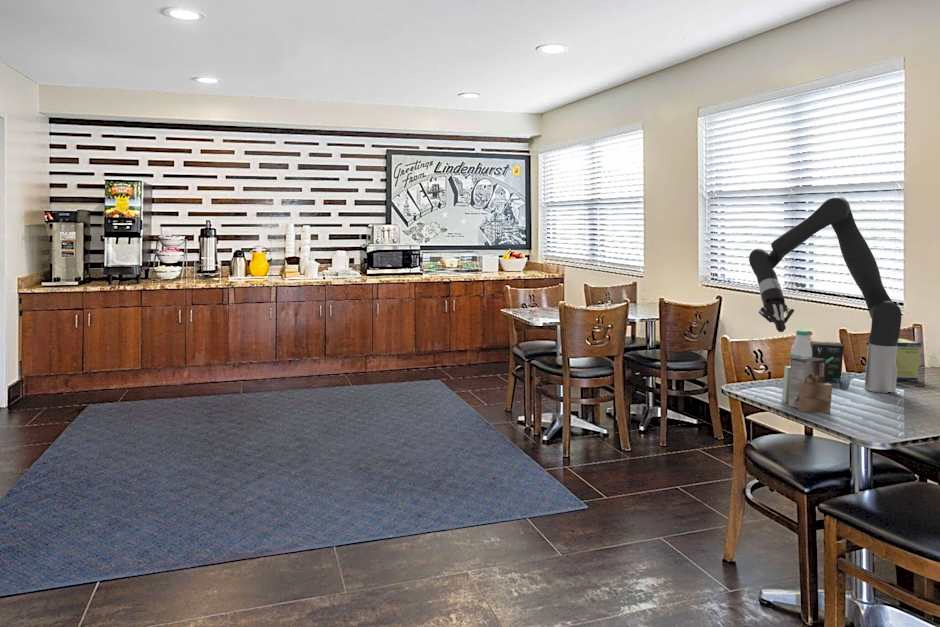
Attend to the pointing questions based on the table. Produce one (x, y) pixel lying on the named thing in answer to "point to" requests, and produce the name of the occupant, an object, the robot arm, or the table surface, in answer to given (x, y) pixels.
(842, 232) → the robot arm
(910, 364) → the protein box
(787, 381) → the bookend
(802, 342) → the milk bottle
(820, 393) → the end block
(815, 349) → the tampon box
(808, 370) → the coffee box
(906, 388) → the table surface
